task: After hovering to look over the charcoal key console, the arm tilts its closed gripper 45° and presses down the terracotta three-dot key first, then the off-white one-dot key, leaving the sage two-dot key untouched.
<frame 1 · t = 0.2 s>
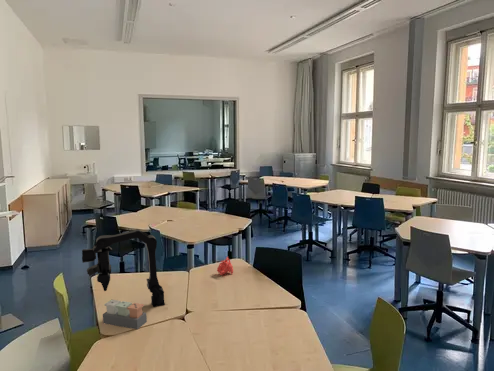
hand: (105, 287, 202), 14 cm above the table, tool pointing down, fingers open, 9 cm apart
key two dots: (124, 310, 192), point 7 cm above the table, slide at 0.0 cm
key three dots: (135, 312, 189), point 7 cm above the table, slide at 0.0 cm
key console: (125, 322, 193), on the table
key one dot: (112, 308, 194), point 7 cm above the table, slide at 0.0 cm
anatomical heart: (225, 274, 258), on the table
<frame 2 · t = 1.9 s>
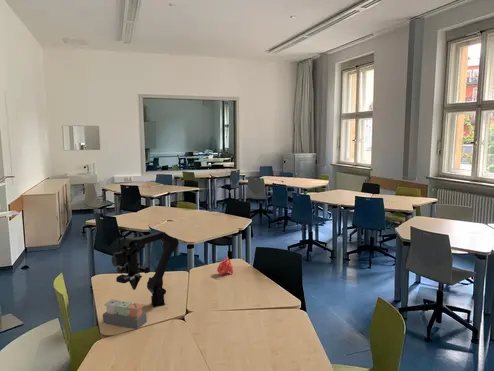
hand: (134, 289, 202), 13 cm above the table, tool pointing down, fingers closed
nothing on the table moved.
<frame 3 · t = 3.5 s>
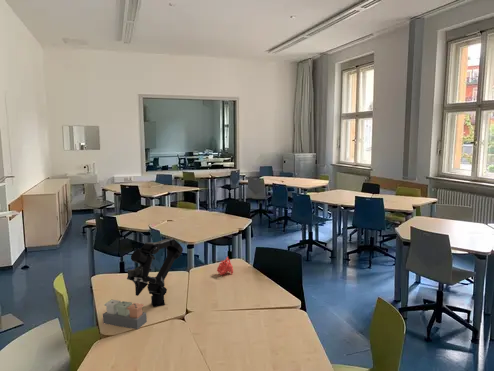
hand: (136, 295, 196), 12 cm above the table, tool tilted 30°, fingers closed
nothing on the table moved.
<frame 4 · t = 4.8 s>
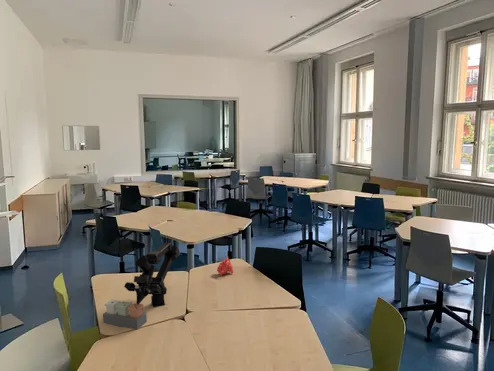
hand: (137, 303, 191), 10 cm above the table, tool tilted 45°, fingers closed, pressing on key three dots
key three dots: (136, 312, 190), point 6 cm above the table, slide at 0.2 cm, touching gripper
everything else where it was.
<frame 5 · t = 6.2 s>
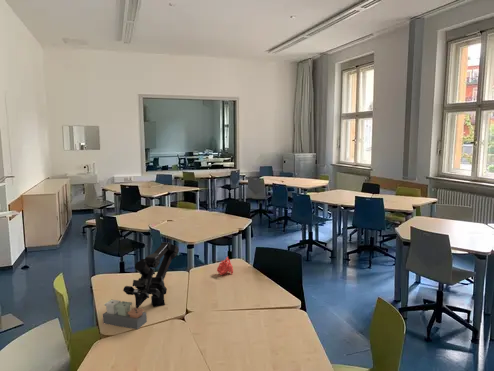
hand: (136, 307, 190), 9 cm above the table, tool tilted 45°, fingers closed
key three dots: (136, 317, 190), point 4 cm above the table, slide at 2.5 cm
everything else where it was.
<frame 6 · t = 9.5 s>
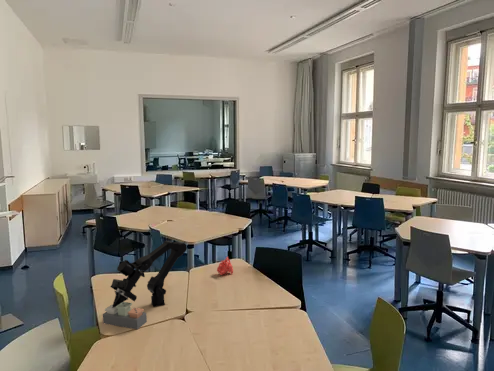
hand: (113, 306, 194), 8 cm above the table, tool tilted 45°, fingers closed, pressing on key one dot
key two dots: (124, 311, 192), point 6 cm above the table, slide at 0.3 cm, touching gripper
key one dot: (113, 313, 194), point 4 cm above the table, slide at 2.8 cm, touching gripper
everything else where it was.
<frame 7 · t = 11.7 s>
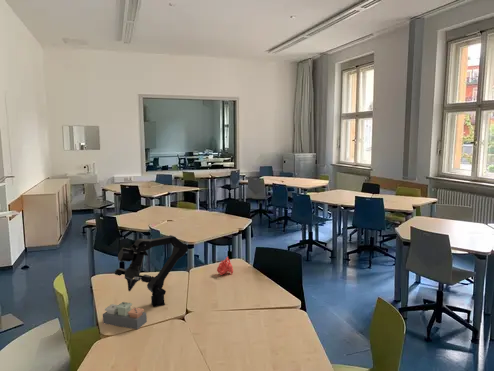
hand: (129, 291, 202), 12 cm above the table, tool tilted 20°, fingers closed
key two dots: (124, 311, 192), point 6 cm above the table, slide at 0.4 cm
key one dot: (113, 313, 194), point 4 cm above the table, slide at 2.5 cm
everything else where it was.
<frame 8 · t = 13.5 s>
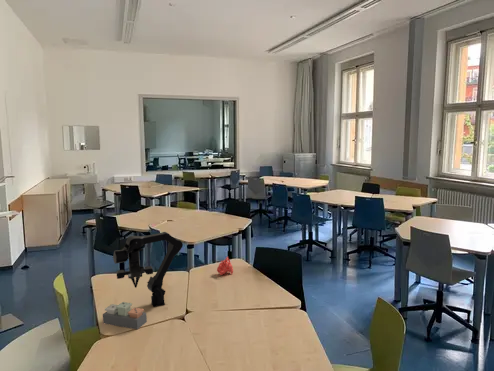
hand: (135, 287, 205), 13 cm above the table, tool pointing down, fingers closed
nothing on the table moved.
at the end: key three dots slide at 2.5 cm; key one dot slide at 2.5 cm; key two dots slide at 0.4 cm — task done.
